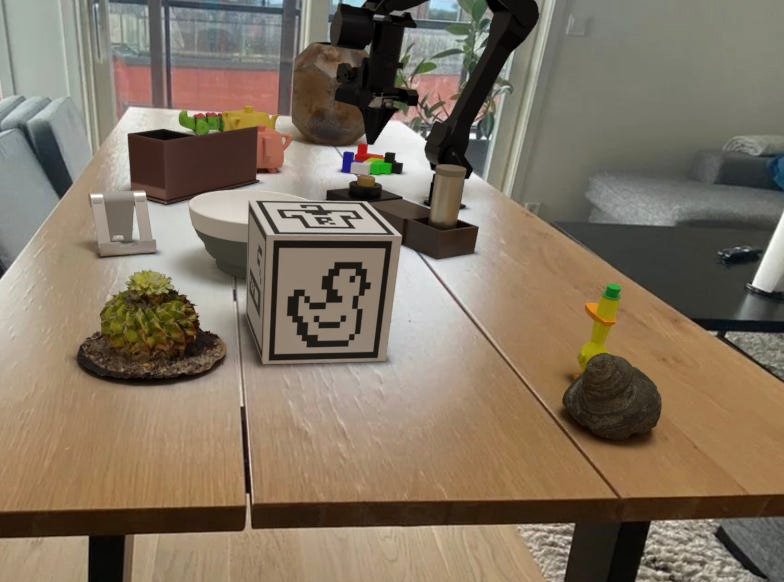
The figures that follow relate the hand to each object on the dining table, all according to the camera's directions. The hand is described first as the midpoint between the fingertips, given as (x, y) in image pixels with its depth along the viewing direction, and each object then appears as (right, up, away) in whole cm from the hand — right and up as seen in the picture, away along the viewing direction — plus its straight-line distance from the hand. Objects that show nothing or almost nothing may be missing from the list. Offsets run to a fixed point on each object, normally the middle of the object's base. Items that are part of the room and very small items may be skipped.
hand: (369, 144), depth 149 cm
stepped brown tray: (+7, -22, -11) cm, 26 cm away
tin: (+11, -24, -15) cm, 31 cm away
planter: (-6, +29, +66) cm, 72 cm away
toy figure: (+20, -53, -57) cm, 81 cm away
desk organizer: (-35, -5, +11) cm, 37 cm away
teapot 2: (-23, +7, +30) cm, 38 cm away
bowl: (-21, -33, -30) cm, 49 cm away
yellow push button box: (-1, -9, +8) cm, 12 cm away
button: (0, -6, +6) cm, 8 cm away
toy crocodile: (-38, +31, +64) cm, 81 cm away
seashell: (+21, -59, -66) cm, 91 cm away
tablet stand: (-42, -28, -26) cm, 57 cm away
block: (-12, -47, -51) cm, 71 cm away
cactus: (-30, -51, -59) cm, 83 cm away
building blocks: (+5, +10, +37) cm, 39 cm away
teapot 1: (-27, +19, +48) cm, 58 cm away
